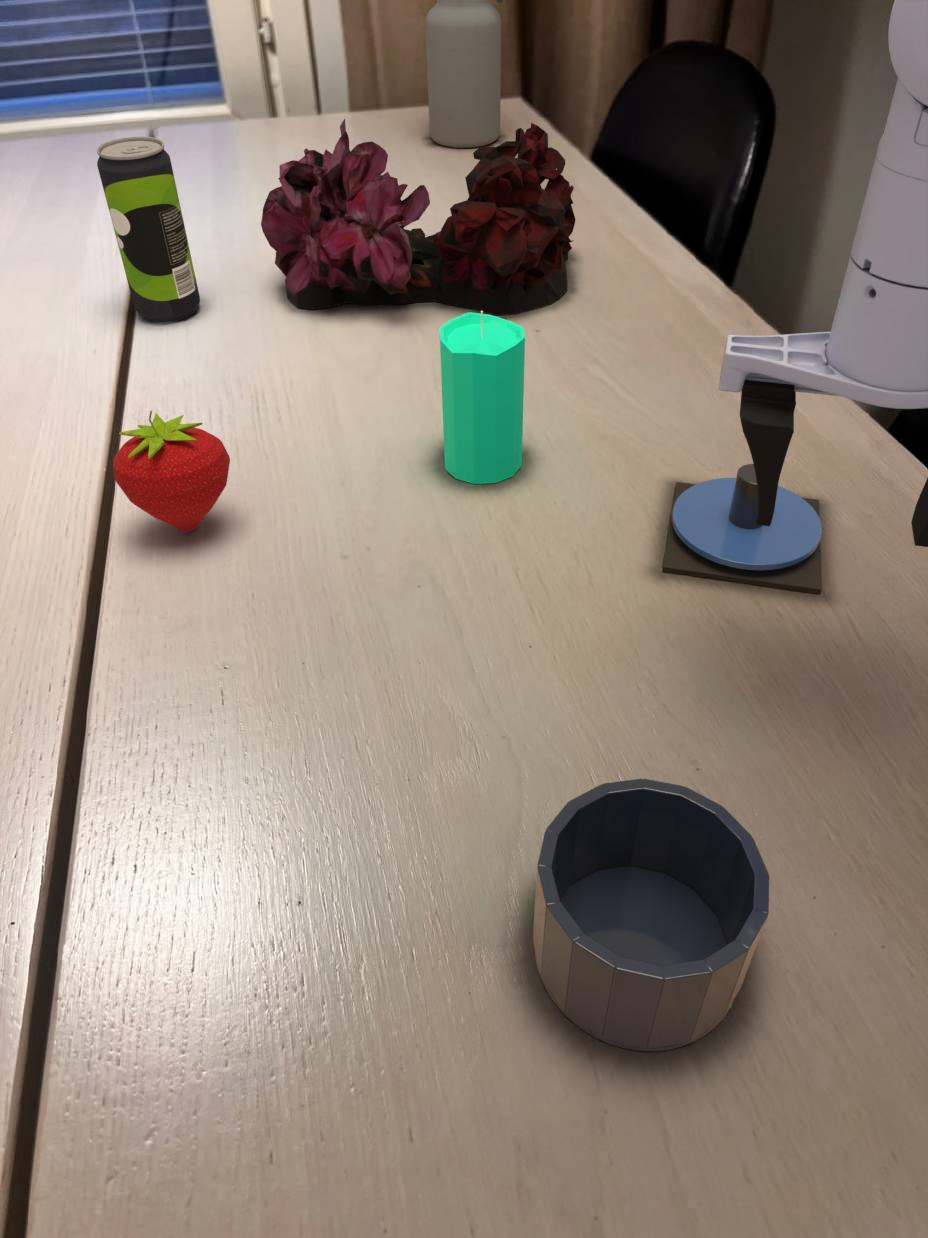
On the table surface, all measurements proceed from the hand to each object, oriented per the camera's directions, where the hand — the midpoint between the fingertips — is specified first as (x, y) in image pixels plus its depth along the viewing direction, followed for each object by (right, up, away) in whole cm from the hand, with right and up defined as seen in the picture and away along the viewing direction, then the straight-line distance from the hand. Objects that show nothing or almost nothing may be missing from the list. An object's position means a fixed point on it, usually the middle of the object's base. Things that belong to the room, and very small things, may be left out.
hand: (840, 524), depth 49 cm
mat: (0, +1, +16) cm, 16 cm away
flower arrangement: (-23, +29, +48) cm, 60 cm away
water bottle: (-19, +62, +83) cm, 105 cm away
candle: (-18, +7, +24) cm, 31 cm away
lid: (0, +2, +16) cm, 16 cm away
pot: (-12, -20, -6) cm, 24 cm away
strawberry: (-39, +1, +18) cm, 43 cm away
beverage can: (-48, +25, +44) cm, 70 cm away
